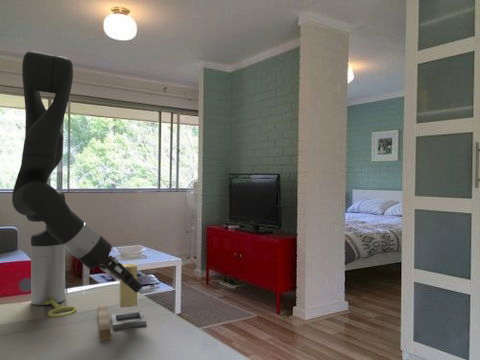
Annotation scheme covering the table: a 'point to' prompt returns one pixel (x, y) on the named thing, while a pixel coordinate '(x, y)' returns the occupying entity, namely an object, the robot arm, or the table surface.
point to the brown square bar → (104, 323)
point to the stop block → (128, 288)
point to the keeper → (128, 324)
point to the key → (59, 309)
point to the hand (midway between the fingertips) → (135, 286)
